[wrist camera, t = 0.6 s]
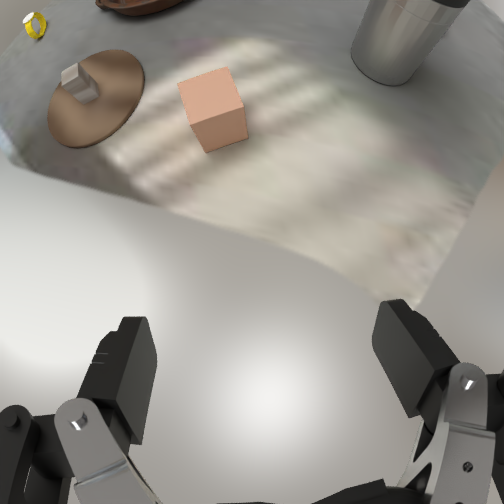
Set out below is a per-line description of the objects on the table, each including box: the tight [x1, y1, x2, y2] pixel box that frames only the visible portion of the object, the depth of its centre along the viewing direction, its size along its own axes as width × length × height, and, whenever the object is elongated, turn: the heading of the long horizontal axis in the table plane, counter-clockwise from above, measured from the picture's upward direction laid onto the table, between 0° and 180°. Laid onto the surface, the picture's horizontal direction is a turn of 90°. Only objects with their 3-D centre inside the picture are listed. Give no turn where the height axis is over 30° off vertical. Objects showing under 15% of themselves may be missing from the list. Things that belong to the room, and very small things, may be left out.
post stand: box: [48, 50, 144, 148], centre depth 31 cm, size 16×16×7 cm
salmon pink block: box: [177, 67, 248, 153], centre depth 30 cm, size 5×5×8 cm
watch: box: [23, 12, 47, 39], centre depth 33 cm, size 6×3×6 cm, turn 9°
